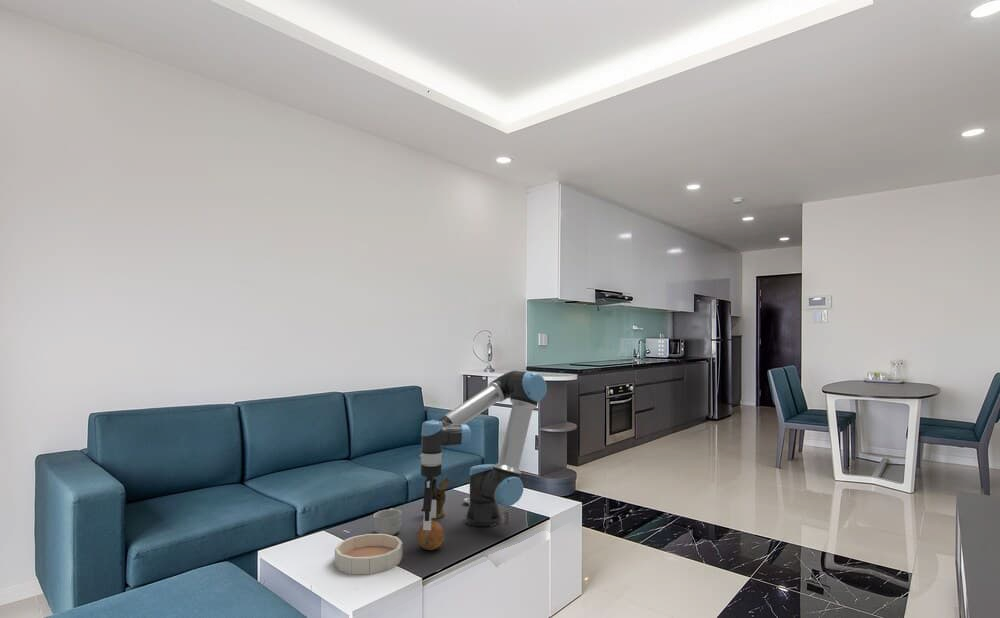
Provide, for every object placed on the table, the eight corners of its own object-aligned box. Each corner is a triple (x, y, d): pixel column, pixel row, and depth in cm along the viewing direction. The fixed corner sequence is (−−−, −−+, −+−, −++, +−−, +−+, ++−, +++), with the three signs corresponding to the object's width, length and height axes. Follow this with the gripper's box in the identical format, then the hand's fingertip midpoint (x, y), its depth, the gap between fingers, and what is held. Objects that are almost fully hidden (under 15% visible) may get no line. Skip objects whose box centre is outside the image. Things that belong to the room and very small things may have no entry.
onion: (444, 543, 198) (444, 516, 199) (443, 554, 188) (443, 525, 189) (418, 544, 198) (418, 516, 198) (415, 554, 188) (416, 525, 188)
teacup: (394, 539, 202) (395, 518, 203) (368, 537, 204) (368, 516, 205) (408, 527, 216) (408, 507, 216) (383, 525, 218) (383, 505, 218)
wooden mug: (440, 523, 220) (440, 479, 221) (419, 516, 229) (419, 474, 230) (455, 517, 227) (456, 475, 228) (434, 511, 236) (434, 470, 237)
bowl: (406, 547, 194) (406, 533, 194) (394, 574, 172) (394, 558, 172) (346, 547, 194) (346, 533, 194) (326, 574, 172) (326, 558, 172)
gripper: (425, 456, 207) (424, 512, 206) (415, 471, 182) (413, 535, 181) (445, 457, 207) (444, 512, 206) (437, 472, 182) (435, 535, 181)
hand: (429, 523), depth 193 cm, fingers open, 13 cm apart
